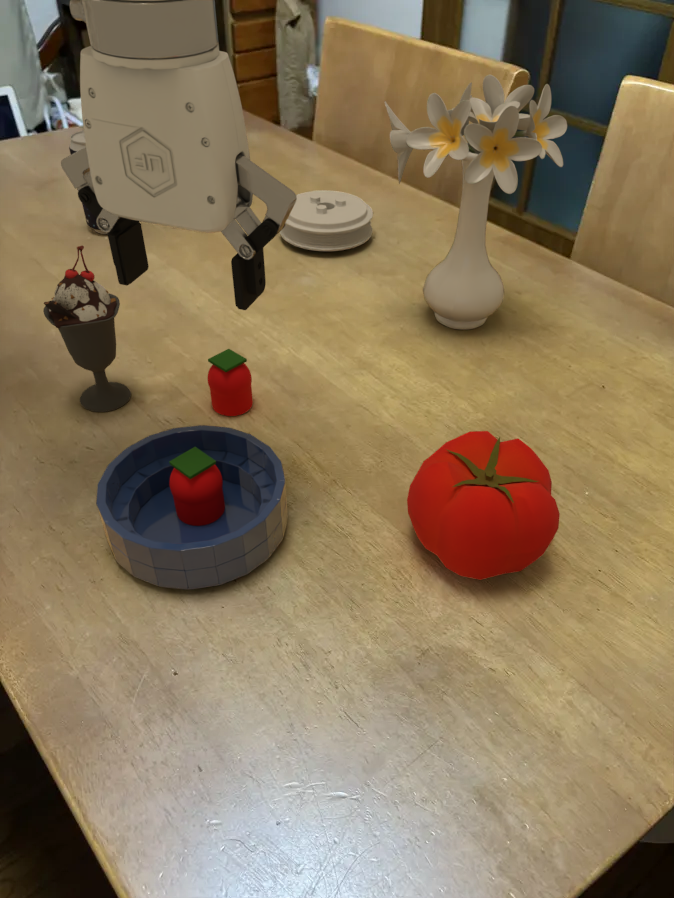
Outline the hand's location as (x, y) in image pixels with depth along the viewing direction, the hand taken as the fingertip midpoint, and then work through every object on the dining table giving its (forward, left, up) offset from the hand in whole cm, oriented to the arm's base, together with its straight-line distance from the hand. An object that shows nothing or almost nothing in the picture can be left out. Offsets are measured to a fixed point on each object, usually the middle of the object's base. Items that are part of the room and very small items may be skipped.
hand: (191, 289), depth 56 cm
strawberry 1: (+4, -5, -17) cm, 18 cm away
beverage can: (-49, +22, -18) cm, 56 cm away
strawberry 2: (-6, +7, -17) cm, 19 cm away
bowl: (+5, -6, -17) cm, 19 cm away
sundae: (-16, -1, -18) cm, 24 cm away
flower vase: (0, +36, -18) cm, 40 cm away
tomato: (+23, +8, -18) cm, 30 cm away
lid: (-26, +41, -18) cm, 51 cm away
